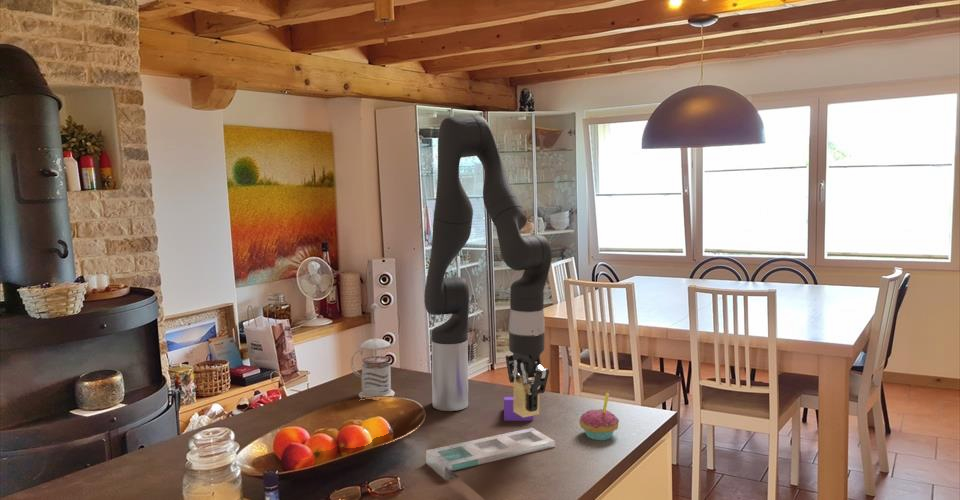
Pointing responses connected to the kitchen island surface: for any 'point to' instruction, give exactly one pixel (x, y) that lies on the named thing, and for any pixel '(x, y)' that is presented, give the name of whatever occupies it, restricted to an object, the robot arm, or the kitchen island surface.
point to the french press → (375, 368)
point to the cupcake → (599, 422)
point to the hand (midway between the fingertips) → (526, 407)
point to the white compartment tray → (485, 450)
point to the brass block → (522, 399)
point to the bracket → (509, 413)
